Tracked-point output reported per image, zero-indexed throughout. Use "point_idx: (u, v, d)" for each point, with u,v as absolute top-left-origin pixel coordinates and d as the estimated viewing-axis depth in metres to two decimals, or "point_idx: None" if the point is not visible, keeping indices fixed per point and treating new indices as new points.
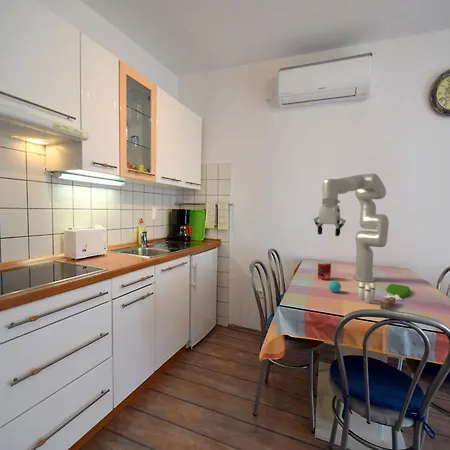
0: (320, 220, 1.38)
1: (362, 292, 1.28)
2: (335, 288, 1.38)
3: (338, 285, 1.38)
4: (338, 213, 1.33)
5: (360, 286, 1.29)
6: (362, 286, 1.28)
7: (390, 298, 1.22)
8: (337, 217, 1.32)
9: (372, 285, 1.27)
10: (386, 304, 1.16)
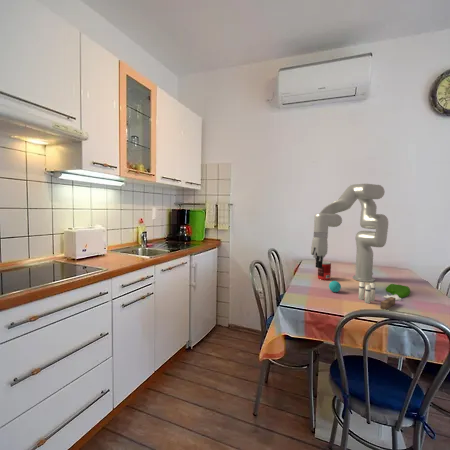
0: (319, 253, 1.43)
1: (362, 292, 1.28)
2: (335, 288, 1.38)
3: (338, 285, 1.38)
4: None
5: (360, 286, 1.29)
6: (362, 286, 1.28)
7: (390, 298, 1.22)
8: None
9: (372, 285, 1.27)
10: (386, 304, 1.16)
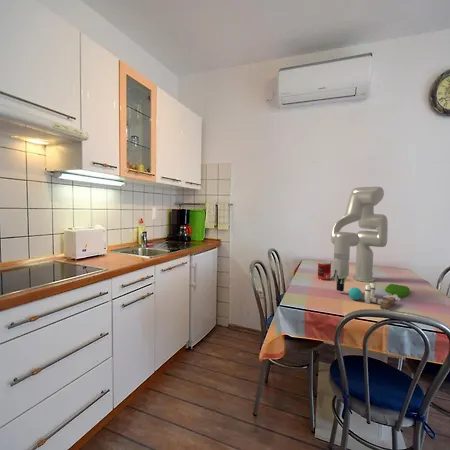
0: (341, 276, 1.34)
1: (371, 301, 1.25)
2: (349, 292, 1.29)
3: None
4: None
5: (377, 301, 1.23)
6: (378, 303, 1.23)
7: (390, 298, 1.22)
8: None
9: (372, 285, 1.27)
10: (386, 304, 1.16)
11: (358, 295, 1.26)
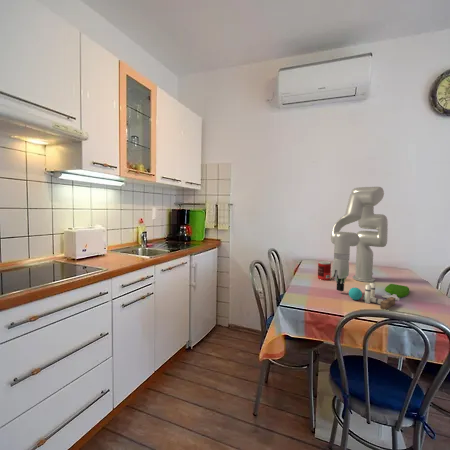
0: (341, 276, 1.34)
1: (371, 301, 1.25)
2: (349, 293, 1.29)
3: None
4: None
5: (377, 301, 1.23)
6: (378, 303, 1.23)
7: (390, 298, 1.22)
8: None
9: (372, 285, 1.27)
10: (386, 304, 1.16)
11: (358, 295, 1.26)
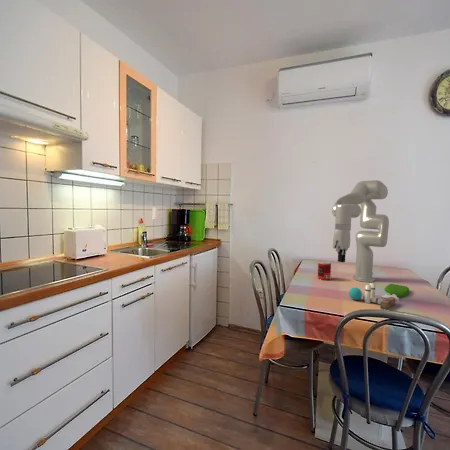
0: (342, 246, 1.33)
1: (371, 301, 1.25)
2: (349, 293, 1.29)
3: None
4: None
5: (377, 301, 1.23)
6: (378, 303, 1.23)
7: (390, 298, 1.22)
8: None
9: (372, 285, 1.27)
10: (386, 304, 1.16)
11: (358, 295, 1.26)
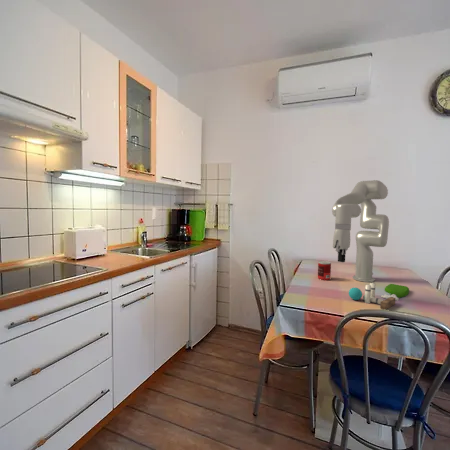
0: (342, 246, 1.33)
1: (371, 301, 1.25)
2: (349, 293, 1.29)
3: None
4: None
5: (377, 301, 1.23)
6: (378, 303, 1.23)
7: (390, 298, 1.22)
8: None
9: (372, 285, 1.27)
10: (386, 304, 1.16)
11: (358, 295, 1.26)
